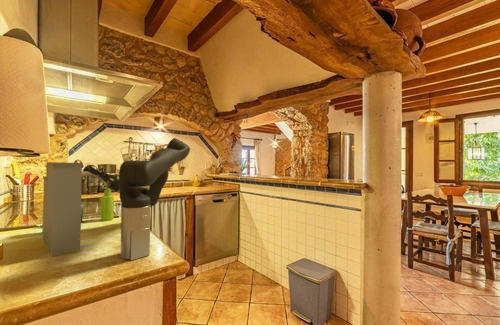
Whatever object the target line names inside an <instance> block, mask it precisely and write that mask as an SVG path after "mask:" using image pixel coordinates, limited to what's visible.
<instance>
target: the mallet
mask: <svg viewBox="0 0 500 325" xmlns="http://www.w3.org/2000/svg"><path fill="white" fill-rule="evenodd" d="M55 163H68V162H65V161H64V162H60V161H57V162H56V161H55ZM45 171H46V177H48V165H47V164H46V169H45ZM98 171H99V172H100V171H101V170H98ZM94 176H97V175H94V174H92V173H90V172H88V171H84V170H82V177H94Z"/></svg>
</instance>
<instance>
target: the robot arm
mask: <svg viewBox="0 0 500 325" xmlns="http://www.w3.org/2000/svg"><path fill="white" fill-rule="evenodd" d="M190 150H191V149H190V146H189V145H188V144H187V143H185V142H183V141H181V140H180V139H178V138H175V137H174V138H171V140H169V142H168V144H167V145H166V147H163V148H161V149H158V150H156V151H155V152H153V153H152V154H151V156H150V159H149V160H125V161H123V162H122V163H121V165H120V167H119V171H118V174H117V173H116V174H114V175H111V174H109V173H107V172H105V171H102V170H98V169H95V168H94V167H90V168H89V167H87V166H86V167H85V168H84V169H83V171H88V172H90V173H92V174H94V175H97V176H93V177H94V178H95V179H97V180H100V181H101V182H103V183H106V184H107V188H109V189H110V190H111V191H114V192H116V193H118V194H119V199H120V200H119V201H120V204H121V212H120V213H121V214H120V215H121V216H120V258H121V259H122V260H130V261H134V260H137V259H140V258H141V259H142V258H144V257H148V256H150V252H151V251H150V250H151V248H150V247H151V246H150V245H151V207H154V206H156V204H157V203H158V201H159V199H160V195H161V192H162V190H163V188H164V187H165V185H166V183H167V182H168V179H169V169H171V168H172V167H173V166H174V165H175V164H178V163H179V162H181V161H183V160H185V159H186V158H187V157H188V156H189V153H190ZM99 171H100V172H99ZM147 187H148V188H147Z"/></svg>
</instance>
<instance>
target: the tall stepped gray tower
mask: <svg viewBox="0 0 500 325" xmlns="http://www.w3.org/2000/svg"><path fill="white" fill-rule="evenodd" d="M55 162H56V161H55ZM55 162H53V161H49V162H48V161H46V166H47V165H48V177H46V176H43V177H42V179H43V201H42V202H43V204H42V205H43V208H42V224H43V234H42V240H43V241H44V244H45V246H46V248H47V250H48V252H49V254H50V256H51V257H52V258H53V257H56V256H57V257H58V256H60V255H65V254H70V253H74V252H79V251H81V247H82V246H81V245H82V242H81V240H82V236H81V235H82V234H81V233H82V222H81V202H82V187H83V185H82V183H83V181H82V180H83V179H82V178H83V176H82V171H83V164H84V163H83V162H67V163H55Z"/></svg>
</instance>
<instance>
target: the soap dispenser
mask: <svg viewBox="0 0 500 325" xmlns="http://www.w3.org/2000/svg"><path fill="white" fill-rule="evenodd" d="M107 184H108V183H105V184H104V185H103V186H105V190H104V191H103V195H102V196H101V198H100V221H101V222H109V221H113V220H114V206H115V204H114V201H115V200H114V199H115V196H114V195H112V190H111V189H109V188H107Z"/></svg>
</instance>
